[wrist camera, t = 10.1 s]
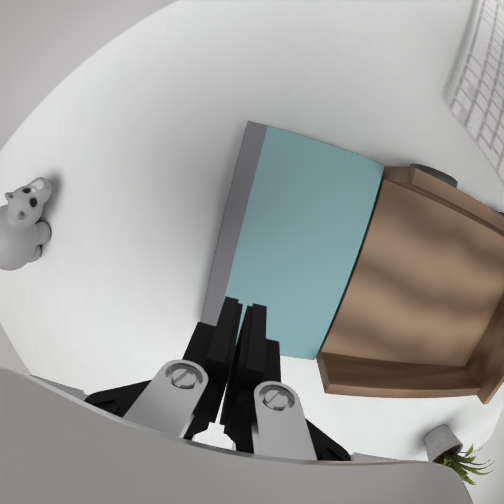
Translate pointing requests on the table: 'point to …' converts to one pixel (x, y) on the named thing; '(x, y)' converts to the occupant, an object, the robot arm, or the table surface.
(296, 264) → the panel
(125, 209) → the table surface
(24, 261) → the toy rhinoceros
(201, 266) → the table surface
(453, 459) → the house plant
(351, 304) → the hand cart
